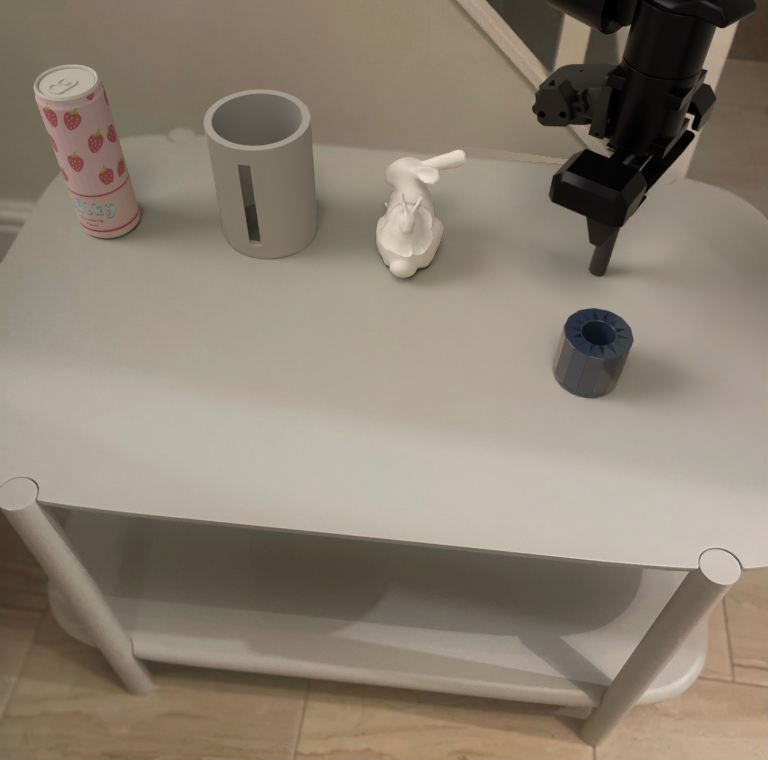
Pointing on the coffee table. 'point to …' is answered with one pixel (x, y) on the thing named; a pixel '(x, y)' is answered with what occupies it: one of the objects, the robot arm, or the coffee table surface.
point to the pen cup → (592, 352)
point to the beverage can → (87, 149)
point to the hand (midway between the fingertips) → (611, 224)
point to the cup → (263, 170)
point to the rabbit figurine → (412, 213)
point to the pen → (602, 256)
